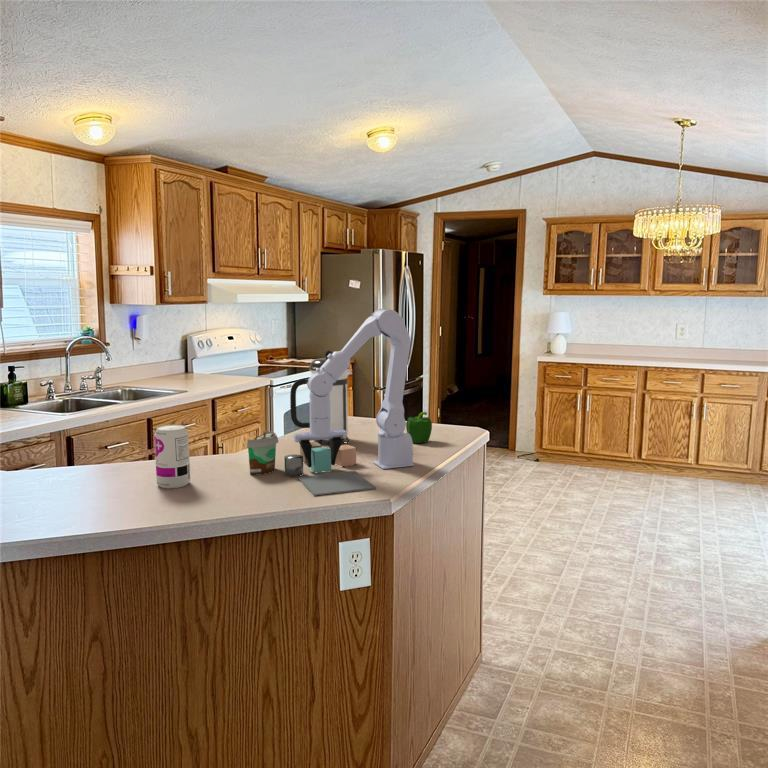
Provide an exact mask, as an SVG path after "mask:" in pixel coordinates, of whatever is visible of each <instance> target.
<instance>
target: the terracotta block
mask: <svg viewBox="0 0 768 768" xmlns="http://www.w3.org/2000/svg"><path fill="white" fill-rule="evenodd" d="M335 464H337V465H340V466H346V467H348V466H347V465H351V466H355V465H354V464H356V465H357V447H355V446H352V445H349V444H348V443H347V444H342V445H341V446H340V448H339V451H338V453H337V456H336V461H335ZM337 465H336V466H337ZM340 466H339V467H340Z"/></svg>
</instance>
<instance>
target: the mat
mask: <svg viewBox="0 0 768 768" xmlns="http://www.w3.org/2000/svg"><path fill="white" fill-rule="evenodd" d="M297 479H298V480H299V482H300V481H301V482H302V483H303V484H304V485H305V486H306V487H305V486H304V485H303V484H302V483H301V482H300V483H301V484H302V485H303V486H304V487H305V488H306V489H307V490H308V492H309V493H310V492H311V493H312V494H313V495H314V496H313V495H312V494H311V495H312V496H313V497H318V496H317V495H322V496H326V495H325V494H330V495H333V494H332V493H338V494H343V493H342V492H347V493H353V492H352V491H355V492H360V491H359V490H364V491H369V490H368V489H372V490H376V489H377V487H376V486H375V485H374V484H372V483H371V482H370V481H368V480H367V478H365V477H364V476H362V474H360V473H358V472H357V471H356V470H353V471H343V472H333V473H325V474H323V473H322V474H315V475H305V476H304V475H303V476H300V477H297Z"/></svg>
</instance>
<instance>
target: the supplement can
mask: <svg viewBox="0 0 768 768" xmlns="http://www.w3.org/2000/svg"><path fill="white" fill-rule="evenodd" d="M153 437H154V439H153V440H154V450H155V451H154V454H155V455H154V456H155V471H156V472H155V473H156V476H155V477H156V484H157V486H159V487H160V488H162V489H171V488H172V489H180V488H182V487H185V486H187V485H188V484H189V483H190V482H191V463H190V447H189V446H190V443H189V432H188V429H187V428H186V426H185V425H182V424H167V425H160V426H158V427H156V430H155V432H154V435H153Z"/></svg>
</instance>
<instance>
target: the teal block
mask: <svg viewBox="0 0 768 768" xmlns="http://www.w3.org/2000/svg"><path fill="white" fill-rule="evenodd" d="M311 462H312V467H310V469H311V471H312V472H313V473H315V472H322V471H330V470H331V471H332V464H331V450H330V448H328V446H321V447H319V448H312V449H311Z"/></svg>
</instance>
